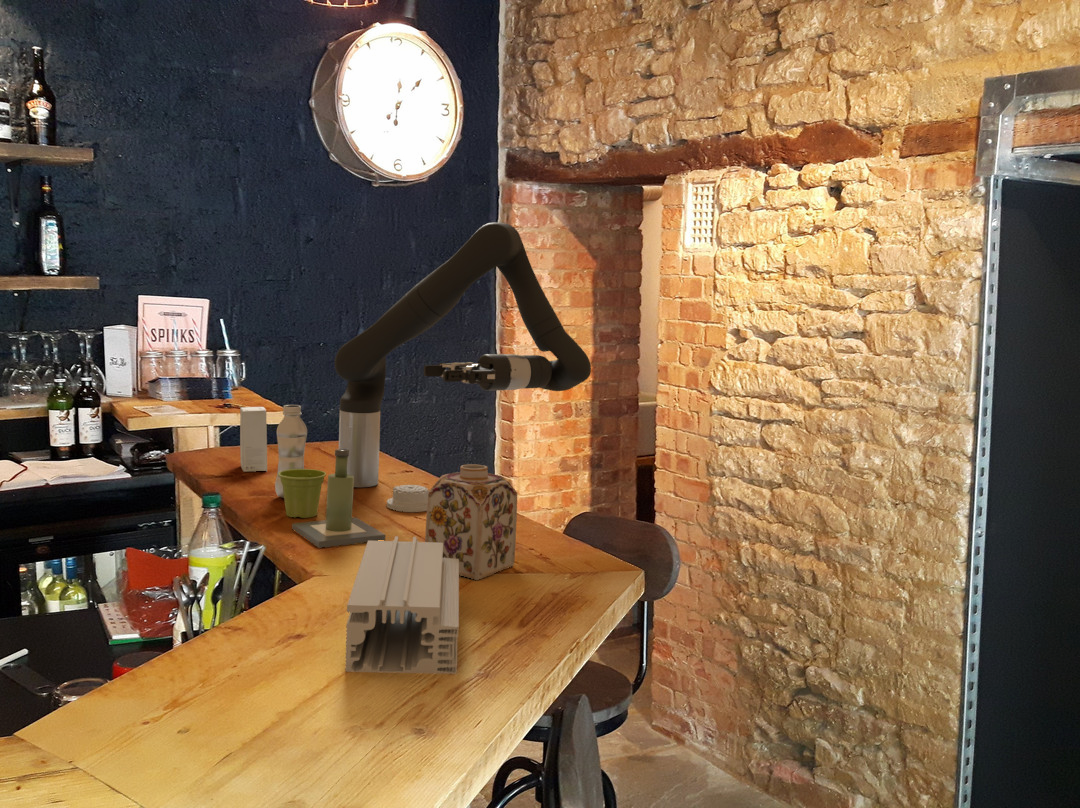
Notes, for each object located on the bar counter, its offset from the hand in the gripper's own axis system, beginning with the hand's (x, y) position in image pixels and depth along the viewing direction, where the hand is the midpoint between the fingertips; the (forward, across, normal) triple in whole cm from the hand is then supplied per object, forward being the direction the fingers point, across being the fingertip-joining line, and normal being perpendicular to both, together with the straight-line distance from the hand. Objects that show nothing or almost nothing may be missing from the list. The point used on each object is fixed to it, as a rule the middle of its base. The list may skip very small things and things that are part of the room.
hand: (434, 373), depth 209 cm
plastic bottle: (+19, -28, +30) cm, 45 cm away
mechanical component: (-2, -12, +30) cm, 33 cm away
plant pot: (+22, -13, +30) cm, 40 cm away
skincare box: (+17, -60, +30) cm, 69 cm away
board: (+21, +4, +30) cm, 37 cm away
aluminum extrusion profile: (+31, +56, +31) cm, 71 cm away
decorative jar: (+8, +32, +30) cm, 45 cm away
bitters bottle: (+21, +4, +29) cm, 36 cm away
